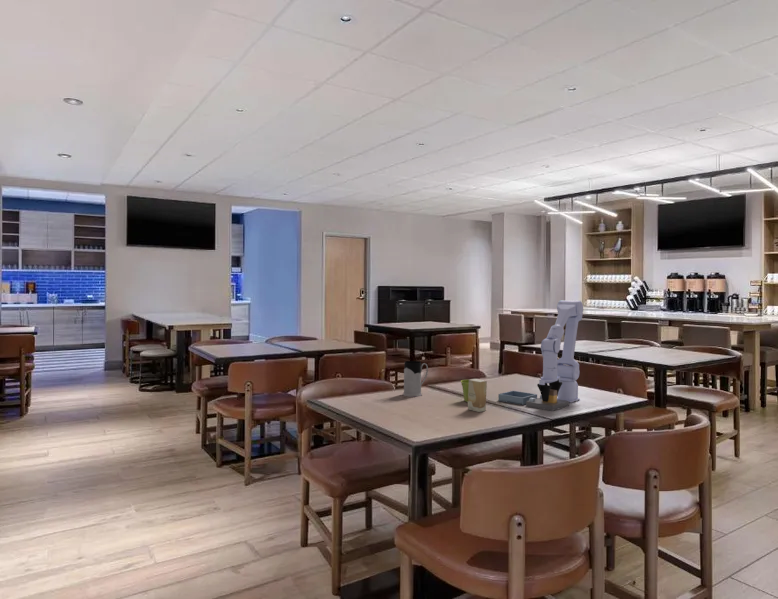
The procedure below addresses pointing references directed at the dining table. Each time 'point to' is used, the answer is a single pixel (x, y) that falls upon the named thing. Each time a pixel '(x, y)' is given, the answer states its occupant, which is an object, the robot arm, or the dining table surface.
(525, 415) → the dining table surface
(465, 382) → the plant pot
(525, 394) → the parts tray
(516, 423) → the dining table surface
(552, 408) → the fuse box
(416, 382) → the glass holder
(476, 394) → the skincare box
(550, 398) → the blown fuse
